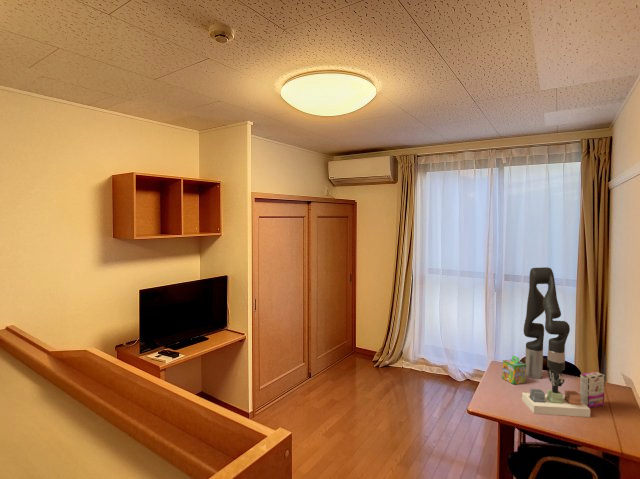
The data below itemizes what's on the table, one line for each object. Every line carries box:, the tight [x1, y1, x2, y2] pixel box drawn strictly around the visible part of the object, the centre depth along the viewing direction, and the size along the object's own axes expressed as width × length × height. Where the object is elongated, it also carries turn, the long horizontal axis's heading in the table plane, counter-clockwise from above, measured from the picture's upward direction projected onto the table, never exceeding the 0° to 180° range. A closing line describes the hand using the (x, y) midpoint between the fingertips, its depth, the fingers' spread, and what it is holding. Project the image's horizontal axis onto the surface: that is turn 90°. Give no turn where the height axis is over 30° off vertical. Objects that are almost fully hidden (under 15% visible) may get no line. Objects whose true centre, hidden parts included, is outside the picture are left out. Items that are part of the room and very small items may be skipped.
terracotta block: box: [564, 390, 581, 405], centre depth 186 cm, size 5×5×6 cm
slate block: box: [529, 388, 546, 403], centre depth 188 cm, size 5×5×6 cm
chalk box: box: [501, 355, 527, 385], centre depth 218 cm, size 9×9×15 cm
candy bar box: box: [579, 371, 606, 409], centre depth 190 cm, size 11×5×16 cm, turn 105°
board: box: [521, 392, 591, 418], centre depth 187 cm, size 14×26×4 cm, turn 83°
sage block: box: [546, 389, 564, 404], centre depth 187 cm, size 5×5×6 cm
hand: (554, 392), depth 187 cm, fingers closed
